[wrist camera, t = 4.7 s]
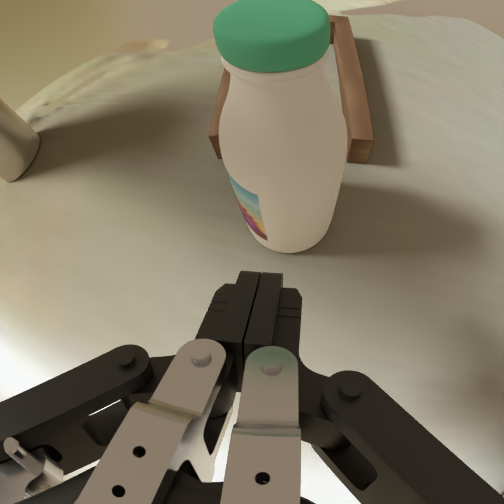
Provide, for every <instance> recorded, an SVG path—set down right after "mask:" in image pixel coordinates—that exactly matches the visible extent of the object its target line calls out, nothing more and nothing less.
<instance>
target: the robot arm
mask: <svg viewBox="0 0 504 504" xmlns="http://www.w3.org/2000/svg"><path fill="white" fill-rule="evenodd" d="M39 144H40V137H39V135H38V134H37V133H36V132H35V131H34V130H33V129H32V128H31V127H30V126H29V125H28V124H27V123H26V122H25V121H24V120H23V119H22V118H21V117H20V116H19V115H18V114H17V113H16V112H15V111H13V110H12V109H11V108H10V107H9V106H8V105H7V104H6V103H5V102H4V101H3V100H2V99H1V98H0V177H1V178H3V179H4V180H5V181H8V182H11V181H14V180H16V179H17V178H19V177H20V176H21V175H22V174H23V173H24V172H25V171H26V169H27V168H28V167H29V165H30V164H31V162H32V161H33V159H34V157H35V155H36V153H37V151H38V148H39ZM301 309H302V297H301V295H300V293H299V292H298V290H297V289H296V288H283V274H282V273H267V272H262V273H261V272H251V271H240V273H239V276H238V279H237V281H236V284H226V283H225V284H224V285H223V286H222V287H220V288H219V289H218V290H217V291H216V292H215V294H214V297H213V299H212V302H211V303H210V306H209V308H208V311H207V313H206V315H205V317H204V319H203V322H202V324H201V326H200V328H199V331H198V333H197V335H196V338H195V340H192V341H189V342H187V343H186V344H184V345H183V346H182V347H181V348H180V349H179V350H178V352H177V354H176V355H172V356H164V357H151V358H149V356H148V353H147V352H146V350H145V349H143V348H142V347H140V346H137V345H123V346H120V347H117V348H115V349H113V350H111V351H109V352H107V353H105V354H103V355H101V356H99V357H97V358H95V359H92V360H90V361H88V362H86V363H84V364H82V365H80V366H78V367H76V368H74V369H72V370H69V371H67V372H65V373H63V374H61V375H59V376H57V377H55V378H52V379H50V380H48V381H46V382H44V383H42V384H40V385H37V386H35V387H33V388H31V389H29V390H27V391H24V392H22V393H20V394H18V395H16V396H13V397H11V398H9V399H7V400H4V401H2V402H0V504H315V503H313V502H312V501H310V500H308V499H306V498H303V497H301V496H300V482H301V440H302V441H305V442H308V443H310V444H311V446H312V448H313V449H314V451H315V452H316V453H317V454H318V455H319V456H320V458H321V459H322V460H323V461H324V462H325V463H326V465H327V466H328V467H329V468H330V469H331V470H332V472H333V473H334V474H335V475H336V476H337V477H338V478H339V480H340V481H341V482H342V483H343V484H344V485H345V486H346V487H347V488H348V490H349V491H350V492H351V493H352V494H353V495H354V496H355V497H356V498H357V499H358V500H359V502H360V503H361V504H504V497H503V496H502V495H500V494H499V493H498V492H497V491H496V490H495V489H493V488H492V487H491V486H490V485H489V484H488V483H487V482H485V481H484V480H483V479H482V478H481V477H480V476H478V475H477V474H476V473H475V472H474V471H473V470H472V469H470V468H469V467H468V466H467V465H466V464H465V463H464V462H463V461H461V460H460V459H459V458H458V457H457V456H456V455H455V454H453V453H452V452H451V451H450V450H449V449H448V448H447V447H446V446H444V445H443V444H442V443H441V442H440V441H439V440H438V439H437V438H435V437H434V436H433V435H432V434H431V433H430V432H429V431H428V430H426V429H425V428H424V427H423V426H422V425H421V424H420V423H419V422H418V421H416V420H415V419H414V418H413V417H412V416H411V415H410V414H409V413H408V412H406V411H405V410H404V409H403V408H402V407H401V406H400V405H399V404H398V403H396V402H395V401H394V400H393V399H392V398H391V397H390V396H389V395H388V394H387V393H385V392H384V391H383V390H382V389H381V388H380V387H379V386H378V385H377V384H376V383H374V382H373V381H372V380H371V379H370V378H369V377H368V376H366V375H364V374H362V373H360V372H356V371H341V372H337V373H335V374H333V375H332V376H330V377H327V376H324V375H321V374H318V373H315V372H313V371H311V370H310V369H308V368H307V367H306V366H305V365H304V364H303V363H302V361H301V360H300V357H299V339H300V325H301ZM236 392H241V397H240V404H239V411H238V418H237V422H236V424H234V426H233V429H232V433H231V439H230V446H229V452H228V458H227V464H226V471H225V477H224V482H211V481H212V478H213V474H214V464H215V459H216V456H217V453H218V450H219V448H220V445H221V442H222V440H223V437H224V434H225V431H226V429H227V426H228V423H229V420H230V418H231V415H232V411H233V402H234V399H235V395H236ZM120 399H121V401H119V402H117V403H115V404H113V405H111V406H109V407H107V408H105V409H103V410H101V411H99V412H97V413H95V414H93V415H90V414H92V413H94V412H96V411H98V410H100V409H102V408H104V407H106V406H108V405H110V404H112V403H114V402H116V401H118V400H120ZM88 415H90V416H88ZM99 459H100V461H99V463H98V464H97V466H95V467H92V468H90V469H88V470H86V471H84V472H82V473H80V474H78V475H76V476H74V477H72V478H70V479H68V480H66V481H64V479H63V476H64V475H67V474H69V473H71V472H73V471H75V470H78V469H80V468H82V467H84V466H86V465H88V464H91V463H93V462H95V461H97V460H99Z"/></svg>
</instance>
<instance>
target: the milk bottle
mask: <svg viewBox="0 0 504 504" xmlns="http://www.w3.org/2000/svg"><path fill="white" fill-rule="evenodd" d="M213 32H214V36H215V41H216V44H217V47H218V50H219V52H220V54H221V61H222V64H223V66H224V67H225V69H226V70H227V71H228V72H229V73H230V85H229V91H228V95H227V98H226V101H225V103H224V106H223V109H222V113H221V117H220V123H219V144H220V150H221V156H222V159H223V162H224V165H225V168H226V171H227V175H228V177H229V180H230V182H231V185H232V188H233V190H234V193H235V195H236V198H237V201H238V203H239V205H240V208H241V210H242V213H243V215H244V218H245V220H246V223H247V225H248V227H249V229H250V231H251V233H252V234H253V236H254V237H255V238H256V239H257V241H259V242H260V243H261V244H262V245H264V246H265V247H267V248H269V249H271V250H274V251H277V252H282V253H296V252H301V251H304V250H306V249H309V248H311V247H312V246H314V245H315V244H317V243H318V242H319V241H320V240H321V239H322V238H323V237H324V235H325V234H326V232H327V230H328V228H329V226H330V223H331V220H332V216H333V213H334V209H335V205H336V201H337V197H338V193H339V189H340V185H341V180H342V176H343V171H344V166H345V160H346V154H347V127H346V122H345V118H344V115H343V112H342V109H341V107H340V104H339V102H338V100H337V98H336V97H335V95H334V93H333V91H332V90H331V88H330V86H329V84H328V81H327V78H326V75H325V72H324V68H323V67H324V66H325V64H326V63H327V61H328V58H329V48H328V47H329V43H330V19H329V16H328V14H327V12H326V10H325V9H324V8H323V7H322V6H320V5H319V4H317V3H315V2H314V1H312V0H239V1H236V2H234V3H232V4H230V5H228V6H227V7H226V8H224V9H223V10H222V11H221V12H220V13H219V14H218V15H217V16H216V18H215V20H214V23H213Z"/></svg>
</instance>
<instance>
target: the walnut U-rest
mask: <svg viewBox="0 0 504 504" xmlns="http://www.w3.org/2000/svg"><path fill="white" fill-rule="evenodd" d="M328 16H329V19H330V43H329V44H334V49H335V55H336V62H337V69H338V76H339V84H340V92H341V101H342V111H343V115H344V118H345V122H346V127H347V154H346V160H347V162H348V163H360V164H366V162H367V160H368V157H369V154H370V151H371V147H372V144H373V141H374V139H373V132H372V125H371V119H370V113H369V107H368V101H367V96H366V90H365V85H364V80H363V76H362V71H361V66H360V62H359V58H358V53H357V49H356V45H355V41H354V37H353V34H352V30H351V26H350V23H349V19H348V17H343V16H331V15H328ZM229 85H230V73H229V72H228V71H227V70H226V69H225V68H224V72H223V76H222V80H221V84H220V88H219V92H218V96H217V100H216V105H215V109H214V113H213V118H212V122H211V126H210V131H209V135H208V136H209V138H210V141H211V143H212V145H213V148H214V150H215V152H216V155H217V157H218V159H222V156H221V150H220V144H219V123H220V117H221V113H222V109H223V106H224V103H225V101H226V98H227V95H228V91H229Z"/></svg>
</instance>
